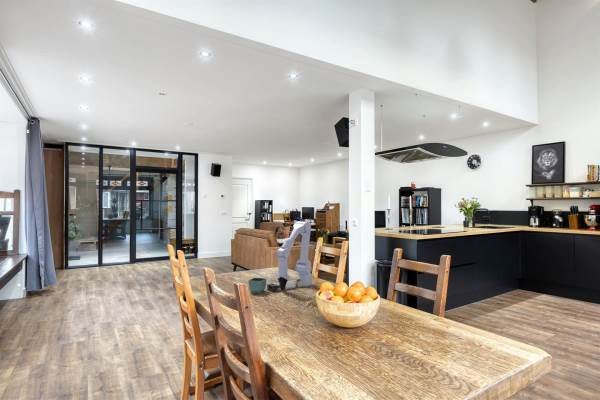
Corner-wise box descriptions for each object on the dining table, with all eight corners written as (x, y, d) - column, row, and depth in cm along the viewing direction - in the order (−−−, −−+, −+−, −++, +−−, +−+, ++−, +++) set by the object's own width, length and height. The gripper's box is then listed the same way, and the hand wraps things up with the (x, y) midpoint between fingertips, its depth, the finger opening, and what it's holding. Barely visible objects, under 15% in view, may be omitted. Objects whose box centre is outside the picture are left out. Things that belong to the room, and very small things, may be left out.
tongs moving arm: (293, 287, 220) (293, 281, 220) (295, 287, 218) (295, 282, 218) (269, 291, 209) (269, 285, 209) (271, 291, 207) (271, 286, 208)
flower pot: (247, 295, 205) (247, 280, 205) (253, 291, 213) (254, 277, 214) (261, 296, 203) (261, 281, 203) (266, 292, 211) (266, 278, 211)
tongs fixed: (298, 285, 226) (298, 278, 226) (302, 286, 222) (302, 279, 222) (267, 290, 212) (267, 282, 212) (270, 291, 208) (270, 284, 208)
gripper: (271, 266, 214) (271, 288, 214) (283, 270, 202) (283, 293, 201) (281, 265, 218) (281, 286, 217) (293, 269, 206) (293, 291, 205)
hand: (282, 289), depth 210 cm, fingers closed
